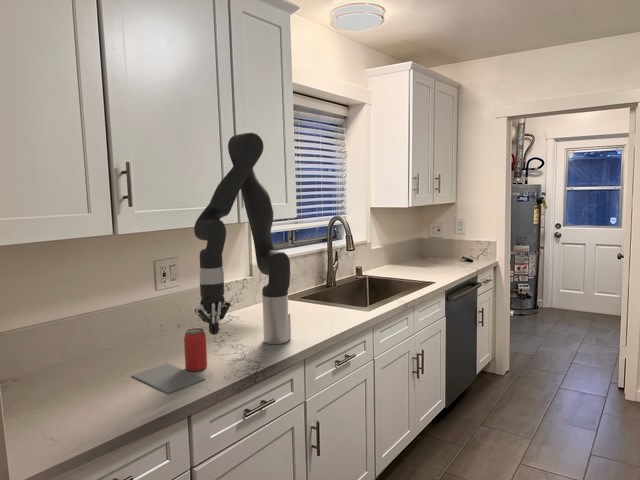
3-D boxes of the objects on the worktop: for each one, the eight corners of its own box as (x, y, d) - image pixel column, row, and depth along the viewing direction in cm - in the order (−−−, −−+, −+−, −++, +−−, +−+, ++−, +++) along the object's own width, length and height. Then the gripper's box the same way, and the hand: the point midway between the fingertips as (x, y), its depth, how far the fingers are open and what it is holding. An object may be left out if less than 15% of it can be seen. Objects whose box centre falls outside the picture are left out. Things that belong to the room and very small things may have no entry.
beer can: (184, 365, 146) (182, 329, 145) (205, 362, 148) (204, 326, 147) (186, 373, 140) (184, 335, 139) (208, 370, 142) (206, 332, 141)
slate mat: (167, 364, 147) (167, 363, 147) (205, 379, 135) (205, 378, 134) (131, 376, 138) (131, 375, 138) (168, 394, 125) (168, 392, 125)
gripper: (221, 276, 154) (223, 327, 156) (187, 283, 144) (189, 336, 146) (235, 279, 149) (237, 331, 151) (201, 285, 139) (203, 341, 141)
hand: (214, 333), depth 149 cm, fingers closed
